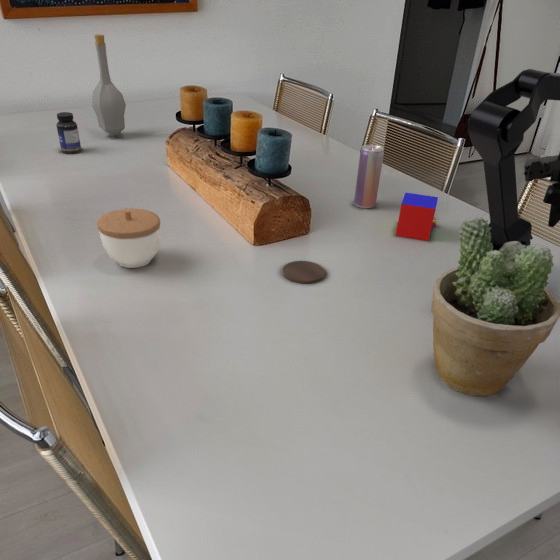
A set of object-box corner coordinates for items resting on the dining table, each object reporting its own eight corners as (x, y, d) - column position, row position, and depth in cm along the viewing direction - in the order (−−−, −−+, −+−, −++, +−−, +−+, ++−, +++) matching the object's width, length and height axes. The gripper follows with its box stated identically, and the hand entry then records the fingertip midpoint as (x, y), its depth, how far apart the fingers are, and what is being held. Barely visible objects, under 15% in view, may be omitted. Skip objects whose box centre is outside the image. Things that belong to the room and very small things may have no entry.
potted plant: (536, 366, 94) (595, 229, 78) (514, 429, 81) (578, 281, 65) (434, 332, 101) (469, 200, 85) (398, 385, 88) (431, 242, 72)
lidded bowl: (173, 252, 121) (169, 204, 114) (147, 278, 112) (141, 227, 105) (122, 243, 124) (114, 196, 117) (92, 268, 114) (82, 218, 107)
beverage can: (350, 206, 147) (357, 148, 138) (358, 199, 151) (365, 142, 142) (371, 210, 145) (379, 152, 136) (378, 203, 149) (387, 147, 140)
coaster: (314, 287, 112) (314, 284, 111) (275, 276, 115) (275, 273, 114) (331, 269, 118) (331, 267, 118) (293, 259, 121) (293, 257, 121)
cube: (395, 235, 133) (401, 203, 128) (399, 223, 139) (405, 192, 134) (428, 240, 132) (435, 208, 127) (431, 228, 138) (438, 197, 133)
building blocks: (426, 214, 145) (427, 207, 144) (442, 226, 139) (444, 219, 138) (405, 216, 143) (406, 210, 142) (420, 228, 137) (422, 222, 136)
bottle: (137, 136, 189) (125, 35, 170) (113, 143, 181) (98, 38, 163) (113, 130, 194) (99, 31, 175) (89, 137, 186) (72, 34, 167)
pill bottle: (60, 149, 174) (52, 112, 168) (79, 147, 177) (73, 110, 170) (63, 154, 170) (55, 117, 163) (83, 153, 172) (76, 115, 165)
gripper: (540, 129, 111) (516, 203, 121) (529, 152, 98) (503, 233, 107) (599, 138, 107) (570, 214, 117) (596, 163, 94) (563, 246, 104)
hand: (550, 226), depth 111 cm, fingers closed
